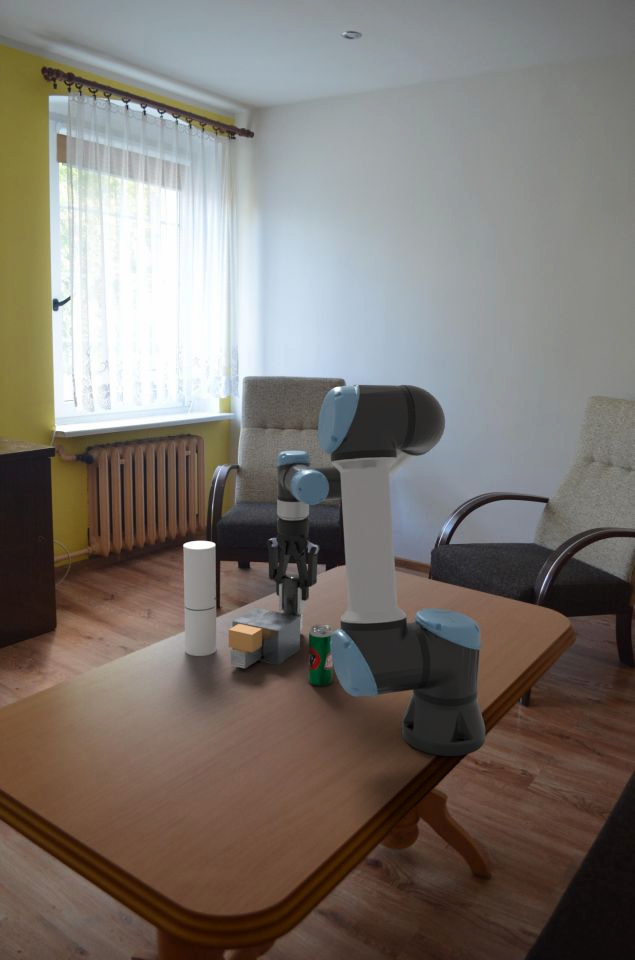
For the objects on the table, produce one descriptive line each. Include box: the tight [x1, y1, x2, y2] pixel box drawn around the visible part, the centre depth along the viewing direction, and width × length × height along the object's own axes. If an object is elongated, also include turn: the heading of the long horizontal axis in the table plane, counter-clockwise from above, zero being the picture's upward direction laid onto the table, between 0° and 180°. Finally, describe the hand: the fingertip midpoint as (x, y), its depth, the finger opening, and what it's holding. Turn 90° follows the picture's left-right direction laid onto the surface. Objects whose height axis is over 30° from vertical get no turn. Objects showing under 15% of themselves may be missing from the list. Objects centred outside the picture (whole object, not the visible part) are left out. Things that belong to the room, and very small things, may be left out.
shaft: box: [230, 573, 304, 669], centre depth 183 cm, size 26×4×14 cm, turn 153°
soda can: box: [307, 624, 334, 687], centre depth 167 cm, size 5×5×12 cm
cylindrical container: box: [182, 540, 217, 657], centre depth 182 cm, size 7×7×25 cm
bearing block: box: [231, 607, 301, 666], centre depth 183 cm, size 10×12×8 cm
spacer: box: [228, 624, 262, 652], centre depth 174 cm, size 4×6×4 cm, turn 63°
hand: (292, 610), depth 193 cm, fingers closed on shaft, 4 cm apart
